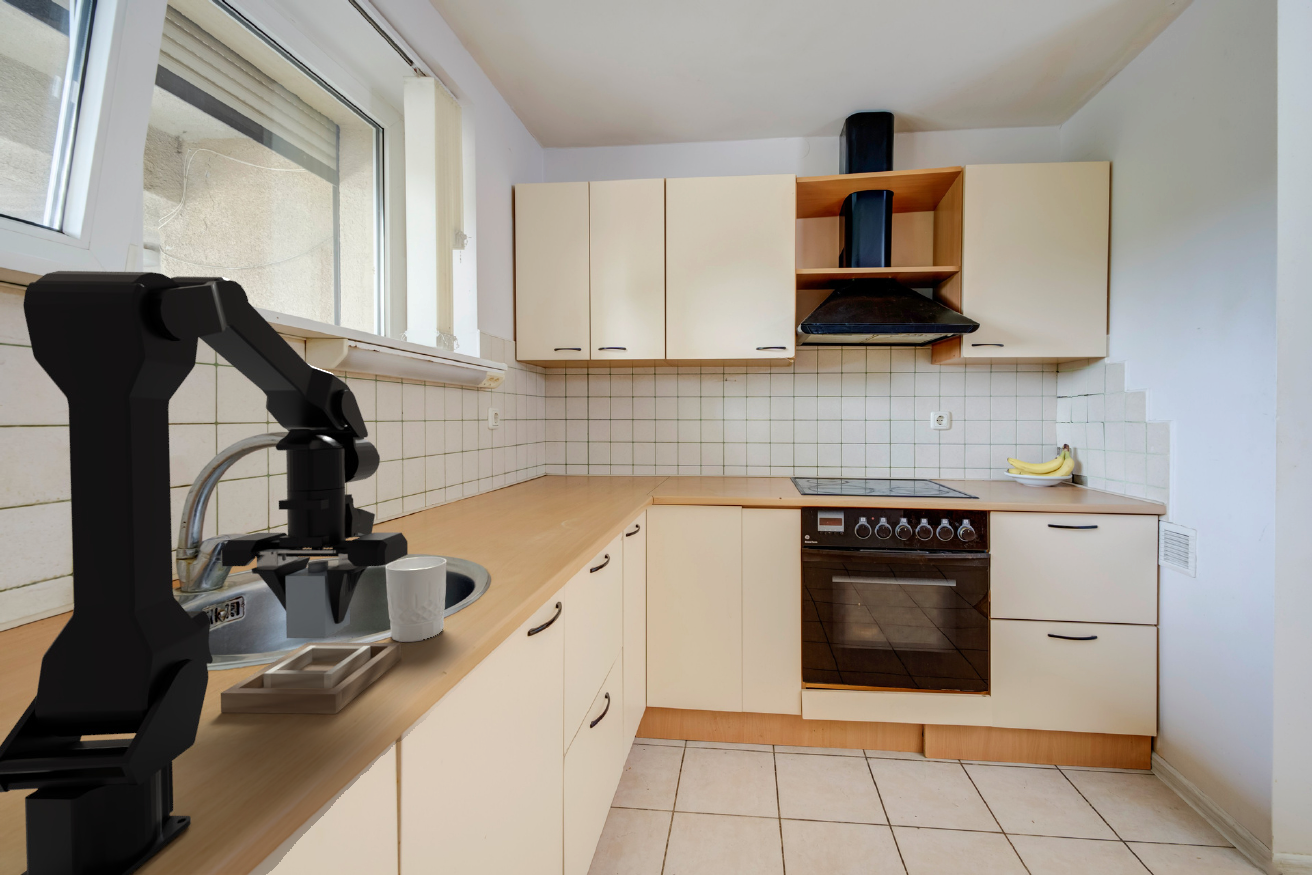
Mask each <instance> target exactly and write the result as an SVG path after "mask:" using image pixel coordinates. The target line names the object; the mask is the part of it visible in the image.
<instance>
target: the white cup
mask: <svg viewBox="0 0 1312 875" xmlns="http://www.w3.org/2000/svg"><path fill="white" fill-rule="evenodd" d="M447 563H448V562H447V558H445V557H440V556H414V557H407V558H400V559H397V560H395V561H393V562H391V563H389V564H386V565H385V580H386V581H385V582H386V596H387V597H386V598H387V607H388V618H389V620H390V622H389V624H390V636H391V639H392V640H393V641H397V642H398V643H401V642H402V643H403V642H404V643H412V642H413V643H414V642H419V641H424V640H423V639H425V640H428V639H427V638H429V639H431V638H430V637H432V638H434V637H435V636H434V635H436V636H438V635H439V634H438V633H440V632H441V631H443V630H444V621H445V619H444V618H445V615H444V613H445V607H446V602H445V600H446V592H447V591H446V590H447V589H446V588H447ZM442 629H443V630H442ZM441 633H442V632H441ZM441 633H440V634H441ZM437 634H438V635H437ZM433 636H434V637H433Z"/></svg>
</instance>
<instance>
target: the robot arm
mask: <svg viewBox="0 0 1312 875" xmlns="http://www.w3.org/2000/svg"><path fill="white" fill-rule="evenodd" d="M22 306H23V312H24V313H23V314H24V316H25V317H24V318H25V322H26V328H27V332H28V336H29V340H30V345H31V351H32V355H33V358H34V360H35V361H36V362H37V364H38V365H39V366H40V367H41V368H42V369H43V371H44V372H45V373H46V374H47V376H48V377H49V378H50V380H51V381H52V382H53V383H54V384H55V385H56V387H57V388H58V390H60V391H61V393H62V394H63V396H64V397H65V398H66V401H67V405H68V433H69V434H68V436H69V469H70V470H69V472H70V473H69V476H70V507H71V508H70V509H71V510H70V511H71V512H70V513H71V541H72V542H71V543H72V544H71V546H72V549H71V550H72V580H73V582H72V583H73V585H72V587H73V589H72V590H73V611H72V615H71V616H70V617H69V619H68V621H67V622H66V623H65V625H64V626H63V627H62V629H61V630H60V632H59V633H58V634H57V636H56V637H55V639H54V640H53V641H52V643H51V644H50V646H49V647H48V648H47V650H46V651H45V652H44V654H43V656H42V658H41V663H40V670H39V677H38V684H37V691H36V695H35V697H33V700H32V701H31V702H30V703H29V704H28V706H27V708H26V709H25V710H24V712H23V713H22V715H21V716H20V717H19V719H18V721H16V723H15V725H14V726H13V727H12V729H10V731H9V733H8V734H7V736H6V737H5V739H4V740H3V741H2V743H1V744H0V793H8V792H9V791H25V790H35V791H32V792H31V793H29V794H28V795H26V796H25V798H24V807H25V809H24V810H25V811H24V812H25V815H24V816H25V843H26V844H25V846H26V847H25V848H26V851H25V852H26V871H24V872H22V873H21V874H20V875H129V874H130V875H131V874H133V872H135V871H134V870H137V869H138V868H140V867H141V866H142V865H143V864H144V863H145V862H147V861H148V860H149V859H150V858H152V857H153V856H155V855H156V854H157V853H158V852H159V851H160V850H161V849H163V848H164V847H165V846H166V845H168V844H169V843H170V842H171V841H173V839H175V838H176V837H177V836H178V835H180V834H181V833H182V832H184V831H185V830H186V829H187V828H189V826H190V825H191V824H192V819H191V816H189V815H171V813H172V812H173V811H174V779H173V778H174V777H173V776H174V775H173V773H174V772H173V771H174V770H173V761H174V760H175V759H177V758H178V757H179V756H180V755H182V754H183V753H184V752H186V751H187V750H189V749H190V748H191V747H192V746H194V744H195V741H196V739H197V733H198V728H199V725H200V724H199V723H200V720H201V715H202V711H203V706H204V703H205V702H204V701H205V697H206V693H207V692H206V691H207V689H208V683H209V670H208V664H212V663H213V661H214V659H213V656H212V653H211V649H210V643H209V642H210V630H211V620H210V618H209V616H208V613H207V612H206V611H205V610H189V611H186V610H185V609H184V607H183V606H182V605H181V603H179V601H178V600H177V599H176V598H175V595H174V587H173V585H174V584H173V583H174V582H173V578H174V577H173V544H172V540H173V539H172V537H173V535H172V506H171V505H172V504H171V503H172V501H171V500H172V499H171V498H172V497H171V496H172V495H171V465H170V464H171V463H170V462H171V461H170V460H171V456H170V455H171V454H170V416H169V413H170V412H169V411H170V410H169V409H170V400H171V399H172V398H173V397H174V395H175V394H176V392H177V391H178V390H179V388H180V386H181V385H182V384H183V383H184V381H185V380H186V379H187V377H188V376H189V374H190V373H191V372H192V371H193V369H194V367H195V366H196V362H197V360H196V359H197V353H198V345H199V339H200V340H202V341H203V342H204V343H206V345H207V346H209V347H210V348H211V349H212V350H214V351H215V352H216V353H217V354H218V355H219V356H220V357H222V358H223V359H224V360H225V361H227V362H228V364H230V365H231V366H232V367H233V368H235V369H236V370H237V371H238V372H240V373H241V374H242V375H243V376H244V377H245V378H246V379H247V380H249V381H250V382H252V383H253V384H254V385H255V386H256V387H257V388H259V390H261V391H262V392H263V393H264V395H265V396H266V402H265V409H266V410H267V411H268V412H269V414H270V415H271V416H272V417H273V418H274V419H275V421H276V422H278V424H279V425H280V426H281V427H282V428H283V429H285V430H287V431H288V432H287V434H286V435H285V436H284V437H282V438H281V439H279V440H278V442H277V443H276V445H275V449H276V450H277V451H279V452H280V451H281V452H283V451H286V453H285V454H286V461H285V462H286V499H280V500H278V511H279V510H285V511H287V512H286V515H287V520H286V521H287V533H286V532H257V533H253V534H248V535H243V536H238V537H235V538H232V539H228V540H227V542H226V543H225V545H224V546H223V548H222V549H221V552H220V556H221V566H222V567H246V566H249V565H251V563H253V561H254V560H255V559H256V567H252V568H251V574H253V575H258V576H260V578H261V579H262V580H263V581H264V583H265V585H266V586H267V587H268V588H269V589H270V590H271V591H272V593H273V594H274V595H275V597H276V598H277V599H278V602H279V603H280V605H281V606H282V608H283V609H284V611H285V612H286V576H287V575H290V574H292V573H295V572H298V571H300V570H303V569H306V568H308V563H309V562H310V559H311V558H313V557H314V558H316V557H320V558H321V557H322V558H323V557H325V558H326V557H327V558H328V557H329V558H331V557H333V558H338V564H337V565H334V566H335V567H332V568H330V569H327V570H326V571H327V579H328V586H329V594H330V602H331V610H332V615H333V619H334V622H335V624H339V623H341V622H343V620H344V618H345V615H346V613H347V610H348V607H349V604H351V601H352V598H353V595H354V593H355V591H356V588H357V585H358V583H359V582H360V579H361V577H362V575H363V574H364V572H365V571H366V570H367V569H368V568H369V567H382V566H386V565H387V564H389V563H391V562H394V561H397V560H400V559H402V558H403V557H405V556H406V557H407V556H408V552H409V550H408V540H407V537H405V536H404V533H402V532H373V528H374V523H375V517H376V513H373V512H370V511H367V510H365V509H363V508H359V507H355V506H354V498H353V494H352V493H350V494H349V493H348V494H346V484H347V483H353V482H354V483H355V482H359V481H362V480H367V479H368V478H370V477H372V476H373V475H374V474H375V473H376V472H377V470H378V468H379V465H380V462H381V458H380V453H379V451H378V449H377V448H376V447H375V445H374V444H373V443H372V442H371V441H369V440H367V439H365V438H368V436H369V431H368V428H367V426H366V424H365V422H364V418H363V415H362V413H361V410H360V408H359V404H358V401H357V399H356V396H355V394H354V392H353V391H352V390H351V388H350V386H348V384H347V383H346V382H345V381H343V380H342V379H340V378H339V376H336V375H335V374H334V373H332V372H330V371H326V370H324V369H321V368H318V367H315V366H313V365H311V364H309V363H308V362H306V361H305V360H304V359H303V358H302V356H301V355H300V354H298V352H297V351H296V350H295V349H294V348H293V347H292V346H291V345H290V344H289V343H288V342H287V341H286V340H285V339H284V338H283V336H281V335H280V333H278V331H277V330H276V329H275V328H274V327H273V326H272V325H271V324H270V323H269V322H268V321H267V320H266V319H265V318H264V317H263V316H262V315H261V314H260V313H259V312H258V310H257V309H256V308H255V307H254V306H253V305H252V304H251V303H250V302H249V298H248V295H247V292H246V291H245V289H244V287H243V286H242V285H241V284H239V282H237V281H236V280H230V279H229V278H228V277H227V278H226V277H223V276H186V275H185V276H178V275H177V276H174V277H173V276H172V277H169V276H167V275H165V274H163V273H160V272H159V273H158V272H153V271H94V270H93V271H92V270H91V271H90V270H89V271H87V270H83V271H82V270H80V271H79V270H55V271H53V272H47V273H45V274H44V275H42V276H41V277H39V278H38V279H37V280H36V281H31V282H30V283H28V285H27V287H26V289H25V291H24V298H23V304H22ZM350 538H351V540H348V539H350ZM352 538H354V539H352ZM125 734H131V735H132V734H135V735H134V736H133V737H132V738H114V739H112V738H111V739H95V740H94V739H93V740H91V739H90V740H81V739H82V737H86V736H88V737H89V736H90V737H91V736H103V735H104V736H105V735H106V736H109V735H125ZM136 868H137V869H136Z"/></svg>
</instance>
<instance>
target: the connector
mask: <svg viewBox="0 0 1312 875" xmlns="http://www.w3.org/2000/svg"><path fill="white" fill-rule="evenodd" d="M335 566H336V565H329V560H326V559H325V560H323V559H322V560H321V559H320V560H313V561H309V562H308V565H307V567H306V569H303V570H300V571H298V572H295V573H292V574H290V575H287V576H286V611H285V615H286V616H285V619H286V622H285V626H286V628H285V629H286V639H327V638H329V637H330V636H332V635H334V634H335V633H337V632H339V631H340V630H342V629H344V628H346V627H348V625H350V624H351V619H350V618H351V616H350V615H351V612H350V611H351V609H350V608H351V606H350V604H351V603H350V604H349V607H348V610H347V613H346V615H345V618H344V620H343V622H341V623H339V624H335V622H334V619H333V615H332V610H331V602H330V594H329V586H328V579H327V571H326V570H327V569H330V568H332V567H335Z"/></svg>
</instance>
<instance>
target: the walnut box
mask: <svg viewBox="0 0 1312 875" xmlns="http://www.w3.org/2000/svg"><path fill="white" fill-rule="evenodd" d="M401 660H402V643H401V642H321V641H320V642H309V641H308V642H305V643H303V644H302V645H301V646H299V647H297V648H295V649H294V650H292V651H290V652H288V653H287V654H285V655H283V656H282V657H280V658H278V659H276V660H275V661H273V662H271V663H270V664H268V665H266V666H264V667H263V668H261V669H260V670H258V671H255V672H254V673H253V674H251V675H249V676H248V677H246V678H244V679H242V680H241V681H239V682H236V683H235V684H234V685H232V686H230V687H229V688H227V689H225V690H223V691H221V692H220V713H234V714H235V713H238V714H239V713H241V714H244V713H247V714H248V713H249V714H329V715H331V714H332V715H333V714H334V715H336V714H337V713H338V712H340V711H341V710H342V709H343V708H345V707H346V706H347V705H348V704H349V703H350V702H352V701H353V700H354V699H355V698H356V697H357V696H359V695H360V694H361V693H362V692H363V691H365V690H366V689H367V688H369V687H370V686H371V685H372V684H374V682H376V680H378V679H379V678H380V677H381V676H383V675H384V674H385V673H386V672H387V671H389V670H390V669H391V668H392V667H393V666H395V664H397V663H398V662H399V661H401Z"/></svg>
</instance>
